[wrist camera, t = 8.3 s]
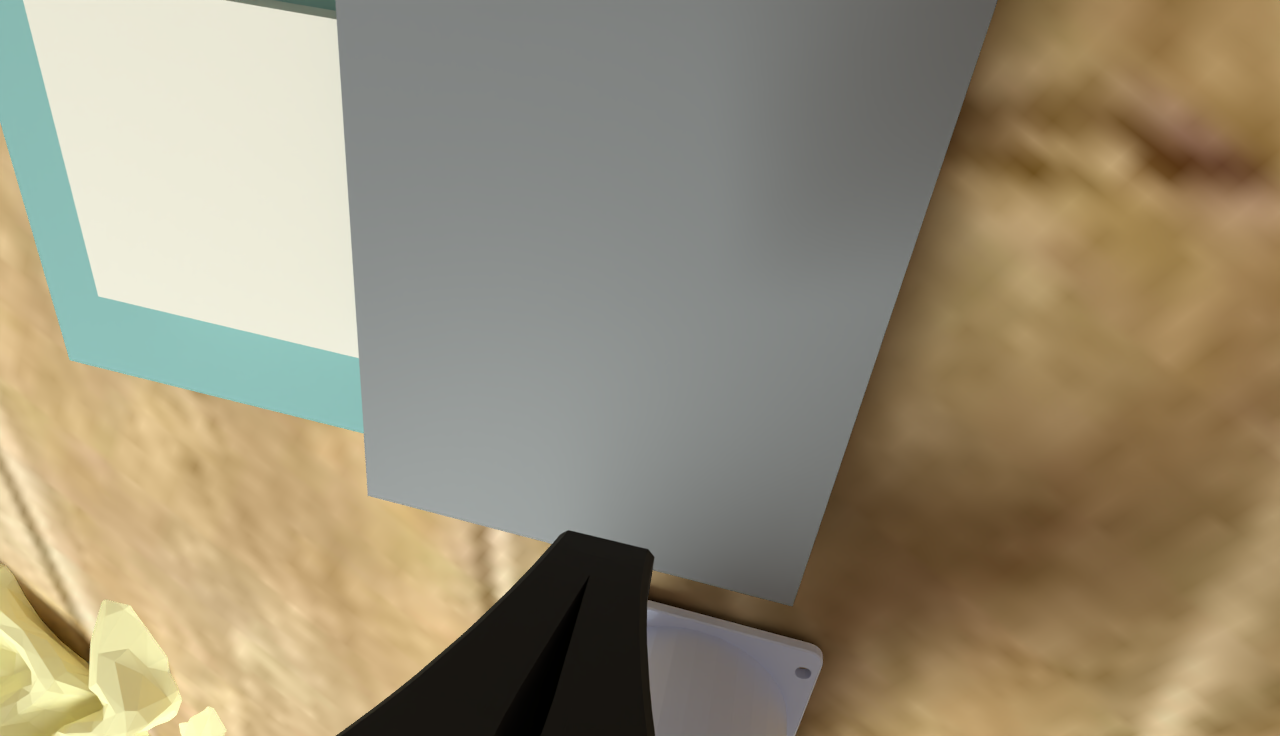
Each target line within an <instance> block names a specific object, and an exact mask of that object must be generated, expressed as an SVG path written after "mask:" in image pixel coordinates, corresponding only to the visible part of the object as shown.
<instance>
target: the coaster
mask: <svg viewBox="0 0 1280 736" xmlns="http://www.w3.org/2000/svg"><path fill="white" fill-rule="evenodd" d="M23 2H24V6H25V10H26V14H27V18H28V22H29V26H30V30H31V34H32V38H33V42H34V46H35V49H36V53H37V57H38V61H39V65H40V69H41V73H42V77H43V81H44V85H45V89H46V93H47V97H48V101H49V105H50V108H51V112H52V116H53V120H54V124H55V128H56V132H57V136H58V140H59V144H60V148H61V152H62V156H63V160H64V164H65V167H66V171H67V175H68V179H69V183H70V187H71V191H72V195H73V199H74V203H75V207H76V211H77V215H78V219H79V222H80V226H81V230H82V234H83V238H84V242H85V246H86V250H87V254H88V258H89V262H90V266H91V270H92V274H93V278H94V281H95V285H96V289H97V293H98V296H99V297H103V298H108V299H112V300H116V301H120V302H124V303H129V304H133V305H137V306H141V307H145V308H150V309H154V310H158V311H162V312H167V313H171V314H175V315H179V316H183V317H188V318H192V319H196V320H200V321H204V322H209V323H213V324H217V325H221V326H225V327H230V328H234V329H238V330H242V331H247V332H251V333H255V334H259V335H263V336H268V337H272V338H276V339H280V340H284V341H289V342H293V343H297V344H301V345H305V346H310V347H314V348H318V349H322V350H326V351H331V352H335V353H339V354H343V355H348V356H352V357H356V358H359V352H358V337H357V322H356V306H355V291H354V276H353V261H352V246H351V231H350V215H349V200H348V185H347V170H346V155H345V140H344V124H343V109H342V94H341V79H340V64H339V48H338V33H337V18H336V11H334V10H328V9H322V8H317V7H311V6H305V5H299V4H293V3H287V2H281V1H276V0H23Z"/></svg>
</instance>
